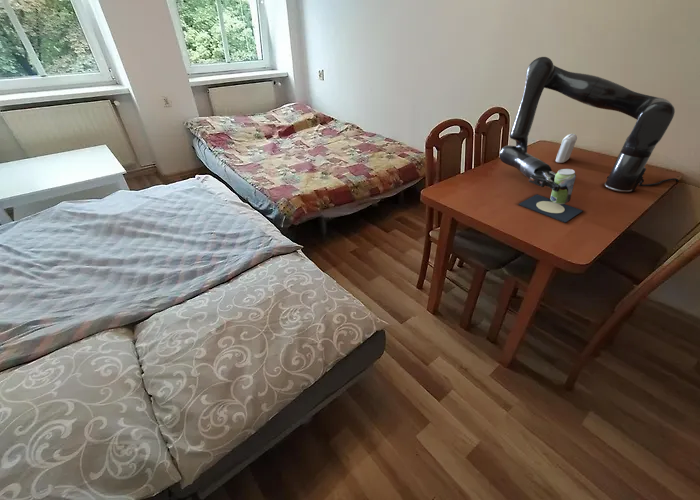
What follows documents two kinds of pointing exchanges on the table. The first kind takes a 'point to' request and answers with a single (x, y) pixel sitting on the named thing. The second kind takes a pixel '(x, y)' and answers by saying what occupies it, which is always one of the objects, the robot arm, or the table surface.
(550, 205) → the mat
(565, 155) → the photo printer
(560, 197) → the beverage can
